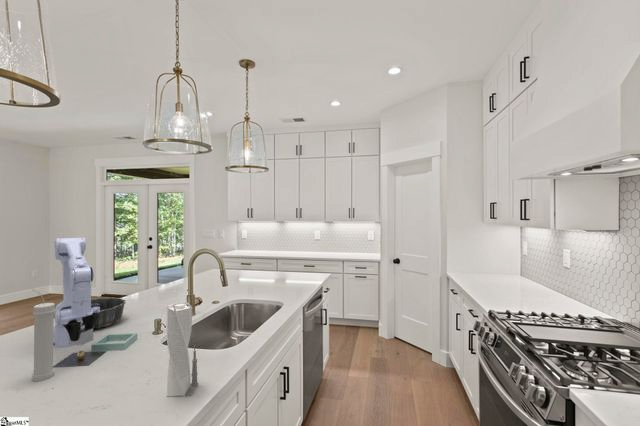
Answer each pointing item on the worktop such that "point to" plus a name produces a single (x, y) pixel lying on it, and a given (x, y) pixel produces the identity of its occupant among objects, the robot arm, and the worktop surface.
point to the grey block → (83, 336)
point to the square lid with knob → (80, 359)
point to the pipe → (43, 341)
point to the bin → (104, 346)
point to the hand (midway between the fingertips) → (80, 337)
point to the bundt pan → (107, 311)
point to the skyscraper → (180, 351)
